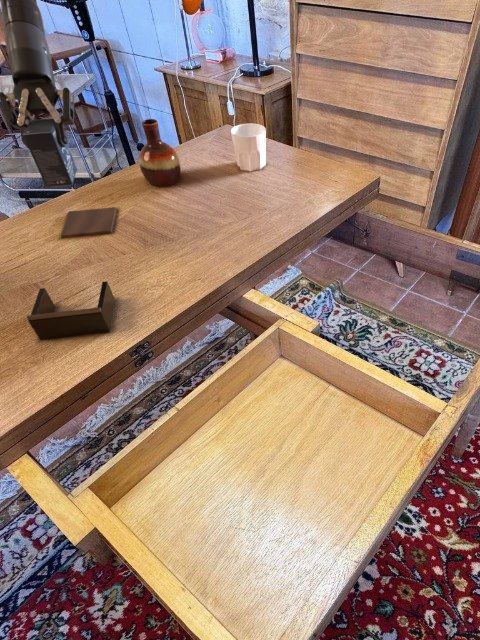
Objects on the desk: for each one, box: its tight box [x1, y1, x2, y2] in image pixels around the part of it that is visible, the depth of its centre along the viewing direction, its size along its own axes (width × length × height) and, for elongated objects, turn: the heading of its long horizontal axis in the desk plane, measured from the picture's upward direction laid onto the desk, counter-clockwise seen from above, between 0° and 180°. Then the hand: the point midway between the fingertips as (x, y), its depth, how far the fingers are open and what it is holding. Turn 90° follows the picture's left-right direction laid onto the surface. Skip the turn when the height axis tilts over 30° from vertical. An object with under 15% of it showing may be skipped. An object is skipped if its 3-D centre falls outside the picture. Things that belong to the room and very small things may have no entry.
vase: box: [138, 118, 182, 188], centre depth 122 cm, size 11×11×15 cm
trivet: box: [60, 206, 117, 239], centre depth 113 cm, size 12×12×1 cm
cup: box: [230, 123, 267, 173], centre depth 130 cm, size 10×10×10 cm
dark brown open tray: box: [26, 280, 116, 341], centre depth 87 cm, size 13×10×6 cm
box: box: [23, 118, 78, 188], centre depth 93 cm, size 8×6×11 cm
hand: (46, 146), depth 90 cm, fingers closed on box, 5 cm apart
